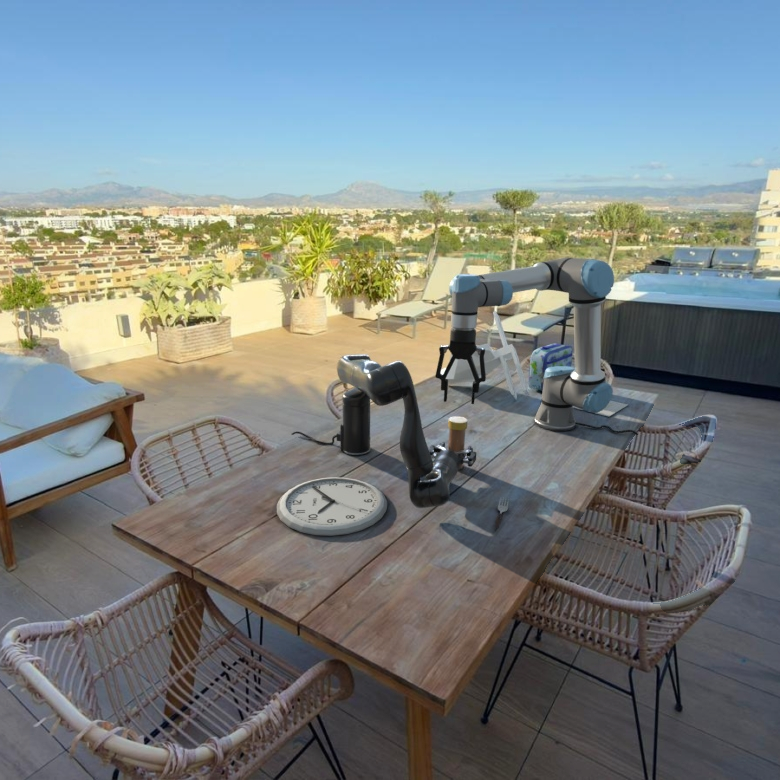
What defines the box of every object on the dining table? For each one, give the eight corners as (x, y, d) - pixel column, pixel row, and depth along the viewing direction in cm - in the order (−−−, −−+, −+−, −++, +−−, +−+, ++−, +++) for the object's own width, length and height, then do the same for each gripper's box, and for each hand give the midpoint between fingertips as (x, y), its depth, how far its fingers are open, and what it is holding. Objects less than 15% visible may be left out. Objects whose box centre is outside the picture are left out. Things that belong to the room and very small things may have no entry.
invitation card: (608, 416, 214) (573, 407, 224) (608, 416, 214) (573, 408, 224) (628, 404, 229) (594, 396, 238) (628, 405, 229) (594, 397, 238)
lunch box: (544, 395, 239) (549, 351, 233) (524, 390, 247) (528, 347, 240) (571, 384, 257) (577, 343, 251) (552, 380, 264) (556, 339, 258)
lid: (470, 429, 162) (470, 422, 161) (452, 431, 160) (453, 423, 159) (462, 422, 167) (462, 415, 166) (445, 424, 165) (445, 417, 165)
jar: (465, 468, 166) (468, 422, 161) (451, 470, 165) (453, 424, 160) (459, 462, 170) (461, 417, 166) (445, 463, 169) (447, 418, 164)
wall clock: (392, 527, 129) (268, 531, 127) (391, 533, 130) (269, 537, 127) (383, 473, 158) (282, 475, 155) (383, 478, 158) (282, 480, 156)
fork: (489, 532, 131) (490, 525, 131) (499, 502, 145) (500, 496, 145) (500, 534, 130) (500, 527, 130) (509, 504, 145) (509, 497, 144)
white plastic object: (461, 429, 252) (437, 405, 227) (444, 352, 274) (420, 323, 250) (535, 404, 240) (518, 377, 215) (510, 326, 262) (492, 293, 237)
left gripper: (469, 459, 148) (480, 438, 163) (421, 451, 153) (435, 432, 167) (468, 483, 151) (478, 460, 165) (420, 475, 155) (434, 453, 170)
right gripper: (499, 327, 156) (493, 400, 162) (430, 324, 160) (427, 395, 166) (498, 332, 149) (492, 408, 155) (427, 328, 153) (424, 402, 159)
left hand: (456, 446), depth 166 cm, fingers open, 8 cm apart
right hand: (459, 401), depth 161 cm, fingers open, 8 cm apart
